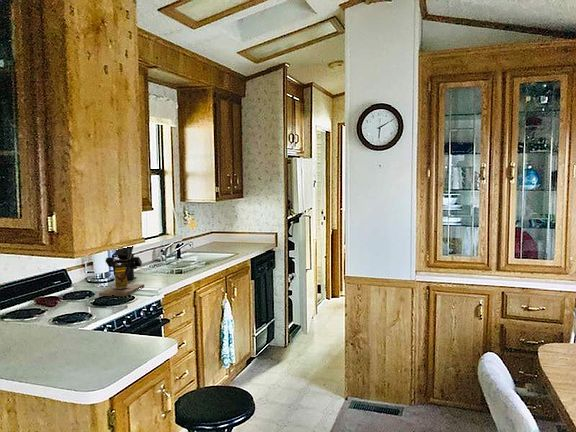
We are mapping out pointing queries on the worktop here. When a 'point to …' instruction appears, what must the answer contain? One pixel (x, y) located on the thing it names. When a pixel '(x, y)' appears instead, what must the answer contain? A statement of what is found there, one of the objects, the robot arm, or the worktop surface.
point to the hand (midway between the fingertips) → (120, 274)
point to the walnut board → (121, 290)
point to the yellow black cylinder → (120, 276)
